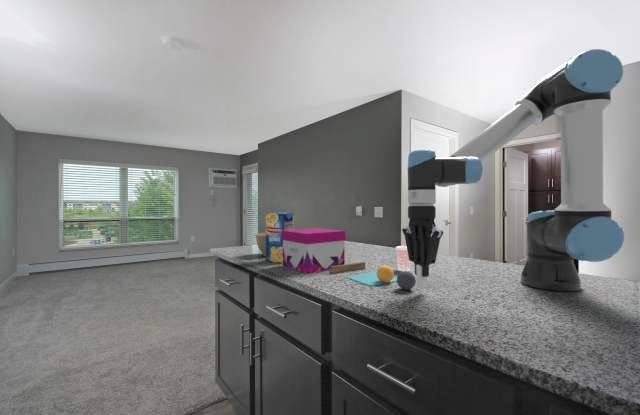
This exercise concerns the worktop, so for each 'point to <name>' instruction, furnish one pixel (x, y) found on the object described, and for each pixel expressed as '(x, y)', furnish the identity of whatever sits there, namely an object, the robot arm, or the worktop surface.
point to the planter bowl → (261, 242)
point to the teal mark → (369, 279)
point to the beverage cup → (403, 258)
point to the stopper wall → (347, 267)
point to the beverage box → (277, 234)
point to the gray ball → (406, 280)
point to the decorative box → (313, 249)
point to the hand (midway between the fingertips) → (421, 287)
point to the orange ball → (385, 274)
